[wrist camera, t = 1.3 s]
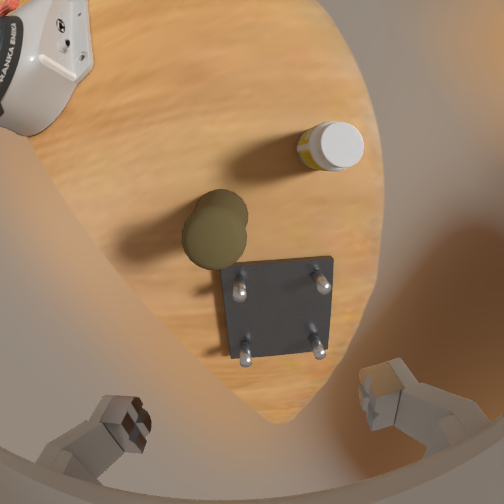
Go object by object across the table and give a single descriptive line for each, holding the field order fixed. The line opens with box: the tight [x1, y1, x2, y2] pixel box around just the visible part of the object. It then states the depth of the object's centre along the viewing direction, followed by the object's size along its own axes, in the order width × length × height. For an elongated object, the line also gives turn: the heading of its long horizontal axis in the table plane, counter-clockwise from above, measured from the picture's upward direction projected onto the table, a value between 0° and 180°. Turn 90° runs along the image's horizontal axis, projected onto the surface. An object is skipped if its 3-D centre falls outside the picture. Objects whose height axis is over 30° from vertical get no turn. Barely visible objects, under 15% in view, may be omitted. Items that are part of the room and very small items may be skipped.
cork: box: [182, 189, 248, 270], centre depth 26 cm, size 6×6×11 cm
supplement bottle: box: [297, 121, 364, 171], centre depth 26 cm, size 5×5×8 cm
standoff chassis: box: [221, 256, 334, 367], centre depth 33 cm, size 13×13×5 cm
